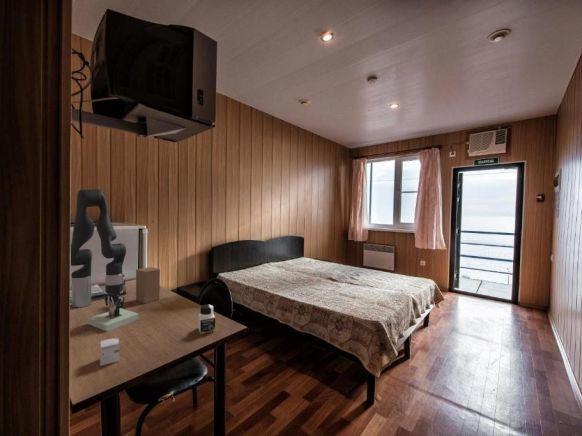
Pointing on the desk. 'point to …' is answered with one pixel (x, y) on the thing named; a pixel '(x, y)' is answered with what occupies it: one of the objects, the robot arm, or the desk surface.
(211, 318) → the medicine bottle
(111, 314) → the peg
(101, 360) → the skincare box
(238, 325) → the desk surface
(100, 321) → the seat board
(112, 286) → the robot arm
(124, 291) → the figurine
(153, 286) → the wooden block
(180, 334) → the desk surface
